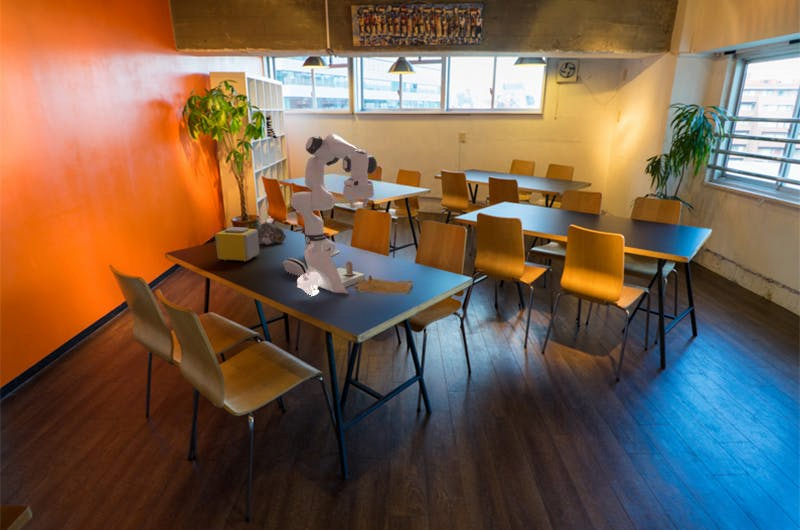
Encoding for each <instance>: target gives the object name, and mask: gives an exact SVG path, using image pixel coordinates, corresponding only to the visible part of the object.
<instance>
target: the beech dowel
mask: <svg viewBox="0 0 800 530" xmlns="http://www.w3.org/2000/svg"><path fill="white" fill-rule="evenodd" d="M345 265H346V266H345V267H346V268H345V269H346V272H347V274H346V275H347V277H353V271H354V269H353V268H354V267H353V261H351V260H348V261H346V263H345Z"/></svg>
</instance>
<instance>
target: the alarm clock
mask: <svg viewBox="0 0 800 530" xmlns="http://www.w3.org/2000/svg"><path fill="white" fill-rule="evenodd" d="M257 230H258V229H256V228H249V227H242V226H241V227H240V226H238V227H237V226H230V227H228V228H226V229H223V230H221V231H218V232H216V233H215V234H214V239H215V247H216V254H217V256H216V257H217V259H218V260H224V262H226V261H228V260H229V261H243V262H245V263H247V262H248V261H249V260H251V259H253V257H254V258H255V257H256V256H258V255H260V252H261V251H260V243H259V240H260V239H258V231H257ZM246 261H247V262H246Z"/></svg>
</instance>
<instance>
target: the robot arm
mask: <svg viewBox="0 0 800 530" xmlns="http://www.w3.org/2000/svg"><path fill="white" fill-rule="evenodd" d="M305 151H306V152H307V153H309V154H310V155H312V156H310V157H309V158H308V160H307V162H306V166H305V173H304V174H305V176H304V184H305V186H306V187H307V189H309V190H311V191H298V192H294V193H293V194H292V195H291V197H290V204H291V207H292V208H293V209H294V210H295V211H297V212H298V214H299V215H300V216H301V217H302V220H303V224H304V240H305V241H304V242H305V243H304V244H305V247H304V252H305V251H306V249H307V247H308V245H309V244H310V242H311V241H313V242H314V247H313V249H312V251H311V252H313V253H318V252H325V251H332V254H331V257H333V256H335V255H338V254H339V253H340V250H338V249H336V244H335V243H334V242H333V241H332V240H330V239H329V238H327V237H329V236H330V233H329V232H325V229H324V227H325V226H324V220H323V218H322V217H320V216H318V215H316V214H315V213H314V212H313V211H328V210H333V208H334V207H335V204H336V199H335V195H334V194H333V193H332V192H330V191H329V190H328V189H327V188H326V186H325V178H324V177H325V167H326V166H328V167H329V166H331V165H334V164H336V163H338V162H339V161H340V159H342V169H343V170H344V171H345V173H348V174H351V175H350V177H349V178H347V179H345V180H344V181H343V185H344V186H343V193H342V194H343V195H342V196H343V199H344V200H345V201H348V203H349V204H350V206H349V207H350V209H355V207H356V205H355V204H354V200H356V201H357V200H364V202H363V203H362V207H364V208H366V207H368V202H369V199H373V198H374V196H375V192H374V191H375V190H374V184H373V182H372V180H368V178H369V175H372V174H373V173H374V172H375V171H376V169H377V167H378V163H377V160H376V158H375V156H373V155H372V154H368V152H367V151H366V150H365V149H362V148H361V149H360V148H359V147H357V146H355V145H353V144H351V143H350V142H348V141H346V140H345V139H344V138H343V137H342V136H341V135H339V134H336V133H330V134H328V135H327V136H326V137H325V138H322V136H311V137H309V138H308V139H307V141H306V144H305ZM303 257H304V258H305V256H304V255H303Z"/></svg>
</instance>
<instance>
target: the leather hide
mask: <svg viewBox="0 0 800 530" xmlns="http://www.w3.org/2000/svg"><path fill="white" fill-rule="evenodd" d="M412 285H413V281H412V280H407V281H406V280H399V281H393V280H383V279H379V278H373V277H372V275H371V274H370V275H369V276H368V278H367V279H365V280H363V281H360V282H358V283H355V284H353V286H354V287H357V288H356V291H357V292H360V291H364V292H363V293H374V292H375V294H384V295H396V294H395V293H409V294H410V292H411V288H412ZM366 291H367V292H366ZM385 293H386V294H385ZM388 293H390V294H388Z"/></svg>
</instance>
